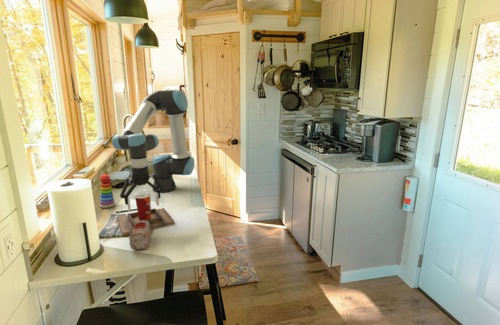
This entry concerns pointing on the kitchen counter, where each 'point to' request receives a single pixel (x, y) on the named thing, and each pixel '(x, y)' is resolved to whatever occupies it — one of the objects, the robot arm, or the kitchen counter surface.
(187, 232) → the kitchen counter surface
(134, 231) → the food item
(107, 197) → the stacking toy
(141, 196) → the paper cup
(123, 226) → the assembly base
